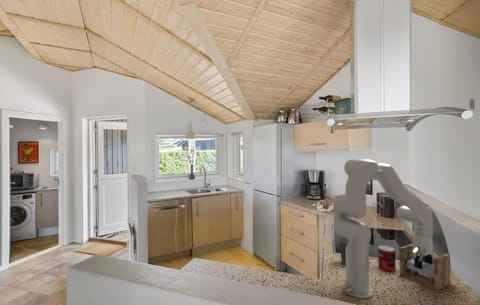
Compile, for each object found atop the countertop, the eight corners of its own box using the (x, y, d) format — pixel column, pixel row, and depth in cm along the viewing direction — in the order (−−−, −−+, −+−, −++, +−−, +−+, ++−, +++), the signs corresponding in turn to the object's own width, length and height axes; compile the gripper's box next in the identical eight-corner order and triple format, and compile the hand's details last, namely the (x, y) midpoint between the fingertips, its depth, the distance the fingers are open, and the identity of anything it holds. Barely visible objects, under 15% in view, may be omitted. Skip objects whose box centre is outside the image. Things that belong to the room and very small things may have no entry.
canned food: (379, 263, 138) (379, 244, 138) (396, 267, 133) (396, 247, 133) (377, 268, 132) (376, 248, 132) (394, 273, 127) (394, 251, 127)
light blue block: (406, 267, 124) (406, 260, 125) (413, 265, 127) (413, 258, 127) (434, 277, 114) (434, 270, 114) (440, 274, 117) (440, 267, 117)
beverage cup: (338, 259, 144) (338, 225, 144) (351, 261, 142) (351, 226, 142) (339, 265, 137) (339, 229, 137) (353, 266, 135) (353, 230, 135)
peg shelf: (437, 290, 110) (437, 259, 111) (399, 275, 125) (399, 247, 125) (450, 284, 116) (449, 254, 116) (412, 269, 131) (412, 243, 131)
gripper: (423, 227, 128) (424, 259, 128) (405, 231, 120) (405, 266, 120) (440, 230, 122) (441, 265, 121) (422, 236, 113) (422, 273, 113)
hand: (423, 266), depth 121 cm, fingers open, 9 cm apart
